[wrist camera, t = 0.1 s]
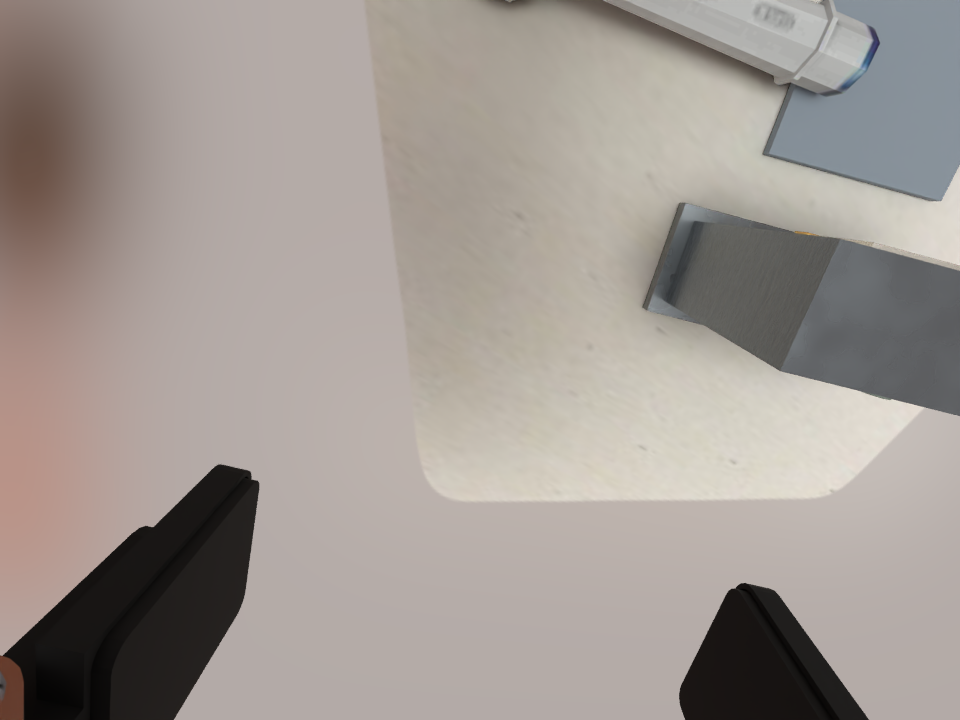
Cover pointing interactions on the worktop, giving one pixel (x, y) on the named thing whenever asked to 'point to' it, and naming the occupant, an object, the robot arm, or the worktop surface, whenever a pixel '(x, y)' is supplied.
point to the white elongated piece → (773, 37)
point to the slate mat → (886, 104)
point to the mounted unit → (817, 304)
